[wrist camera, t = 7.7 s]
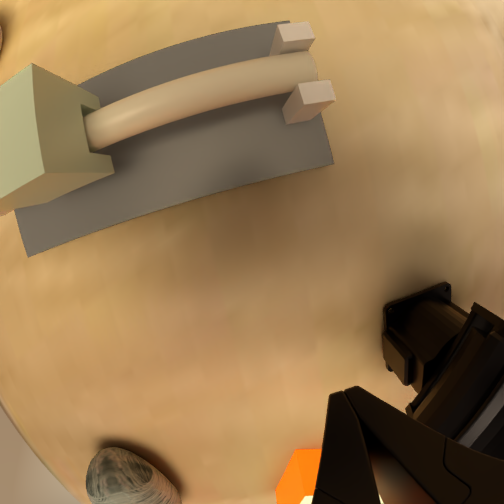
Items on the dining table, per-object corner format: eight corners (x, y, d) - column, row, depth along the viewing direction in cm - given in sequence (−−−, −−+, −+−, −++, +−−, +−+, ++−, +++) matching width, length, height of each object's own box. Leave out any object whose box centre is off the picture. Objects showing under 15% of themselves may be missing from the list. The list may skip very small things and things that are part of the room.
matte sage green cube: (98, 97, 13) (31, 62, 7) (114, 172, 14) (44, 173, 8) (32, 132, 13) (-42, 123, 7) (46, 202, 14) (-30, 219, 8)
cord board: (285, 30, 16) (305, -25, 10) (327, 165, 18) (370, 159, 12) (12, 134, 17) (-46, 128, 10) (38, 252, 19) (-18, 279, 12)
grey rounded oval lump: (59, 446, 20) (81, 533, 12) (140, 424, 24) (180, 510, 17) (109, 489, 26) (136, 551, 19) (171, 471, 31) (205, 531, 23)
